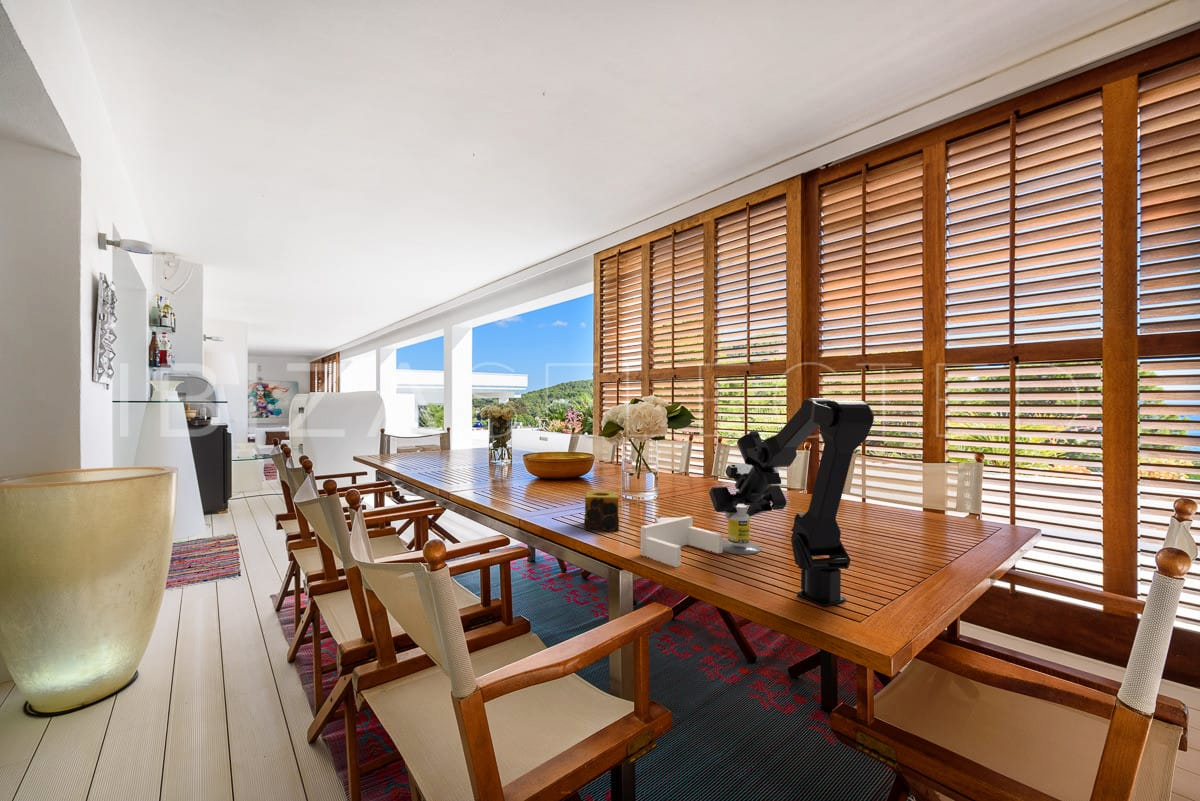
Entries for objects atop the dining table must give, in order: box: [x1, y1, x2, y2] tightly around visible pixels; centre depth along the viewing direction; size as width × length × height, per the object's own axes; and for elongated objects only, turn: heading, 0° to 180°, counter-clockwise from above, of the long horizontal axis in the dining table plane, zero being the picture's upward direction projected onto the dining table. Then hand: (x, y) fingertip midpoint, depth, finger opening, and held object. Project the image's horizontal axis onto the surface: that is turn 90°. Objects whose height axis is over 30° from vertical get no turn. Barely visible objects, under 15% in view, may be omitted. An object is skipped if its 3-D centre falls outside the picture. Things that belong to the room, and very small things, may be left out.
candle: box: [583, 490, 620, 532], centre depth 150 cm, size 10×10×10 cm
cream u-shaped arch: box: [640, 515, 724, 568], centre depth 125 cm, size 11×18×7 cm, turn 130°
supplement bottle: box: [727, 504, 751, 546], centre depth 130 cm, size 5×5×10 cm
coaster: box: [723, 539, 762, 555], centre depth 130 cm, size 11×11×1 cm
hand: (736, 516), depth 131 cm, fingers closed on supplement bottle, 5 cm apart
